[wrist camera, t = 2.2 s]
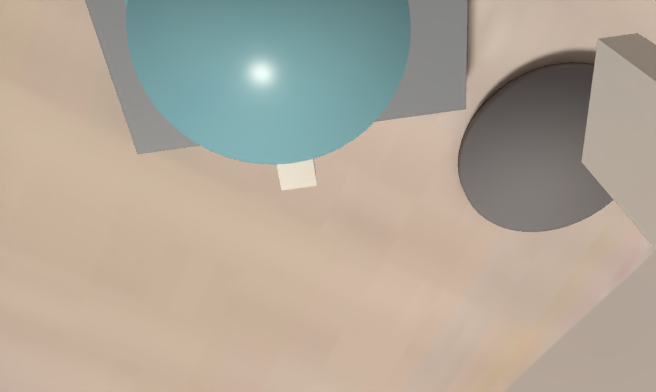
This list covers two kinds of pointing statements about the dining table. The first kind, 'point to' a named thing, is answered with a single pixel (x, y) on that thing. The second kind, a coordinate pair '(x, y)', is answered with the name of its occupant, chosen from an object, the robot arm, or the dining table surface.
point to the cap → (270, 73)
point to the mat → (532, 152)
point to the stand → (409, 100)
